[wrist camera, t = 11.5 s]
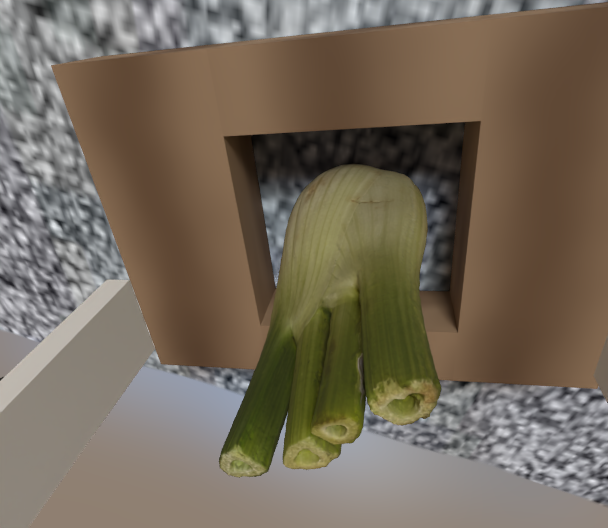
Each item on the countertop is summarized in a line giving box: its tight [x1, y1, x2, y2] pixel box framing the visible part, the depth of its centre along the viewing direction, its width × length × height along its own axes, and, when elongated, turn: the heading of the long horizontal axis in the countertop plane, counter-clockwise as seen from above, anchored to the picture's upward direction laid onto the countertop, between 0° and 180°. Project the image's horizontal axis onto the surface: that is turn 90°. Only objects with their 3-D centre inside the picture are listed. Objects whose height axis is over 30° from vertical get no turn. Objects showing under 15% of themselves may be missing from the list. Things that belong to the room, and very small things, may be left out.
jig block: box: [51, 2, 608, 389], centre depth 17 cm, size 20×14×3 cm
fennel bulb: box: [219, 164, 441, 477], centre depth 14 cm, size 6×5×12 cm
